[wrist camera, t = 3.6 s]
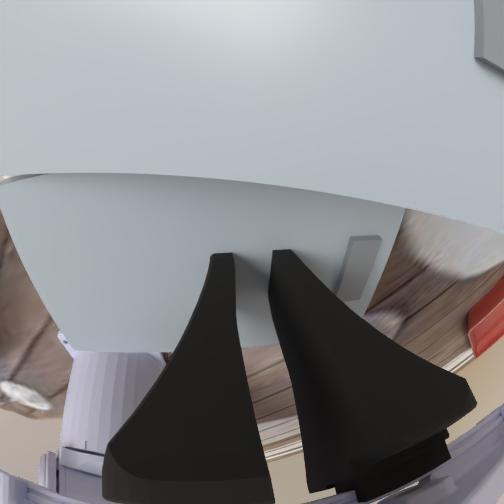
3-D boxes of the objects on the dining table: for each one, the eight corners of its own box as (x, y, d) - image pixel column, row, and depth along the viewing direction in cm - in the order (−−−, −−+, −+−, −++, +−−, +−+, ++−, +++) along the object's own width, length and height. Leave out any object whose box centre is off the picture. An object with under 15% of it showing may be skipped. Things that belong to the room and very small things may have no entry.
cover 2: (351, 322, 13) (358, 336, 13) (76, 340, 11) (72, 355, 11) (408, 158, 8) (423, 168, 8) (2, 179, 6) (-11, 191, 6)
